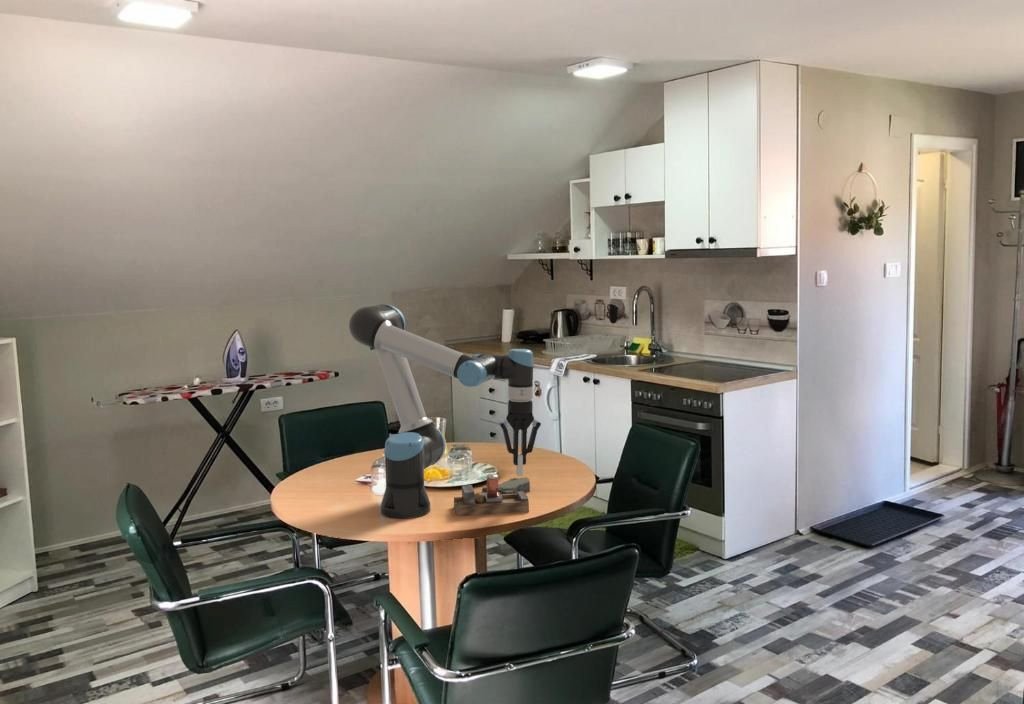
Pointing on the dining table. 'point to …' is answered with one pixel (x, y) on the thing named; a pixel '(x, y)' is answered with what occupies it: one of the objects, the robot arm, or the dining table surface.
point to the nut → (479, 498)
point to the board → (489, 504)
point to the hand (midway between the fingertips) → (519, 474)
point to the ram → (492, 490)
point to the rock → (513, 486)
